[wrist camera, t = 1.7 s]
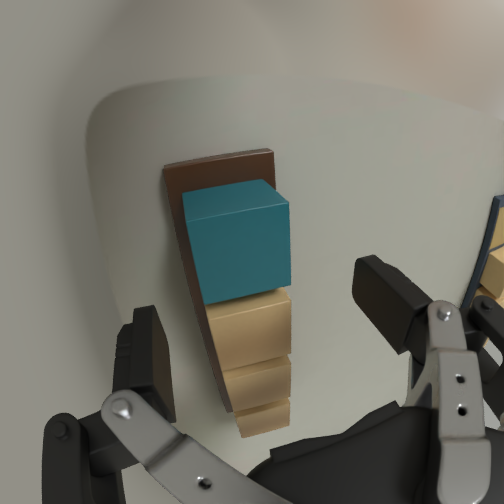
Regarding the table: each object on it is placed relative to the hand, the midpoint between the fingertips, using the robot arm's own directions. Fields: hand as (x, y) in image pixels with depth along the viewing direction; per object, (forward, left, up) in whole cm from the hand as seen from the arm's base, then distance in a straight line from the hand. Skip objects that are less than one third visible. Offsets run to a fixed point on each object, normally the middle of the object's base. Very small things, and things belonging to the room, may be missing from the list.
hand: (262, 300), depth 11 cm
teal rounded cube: (0, 0, -7) cm, 7 cm away
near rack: (+8, 0, -8) cm, 11 cm away
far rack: (+14, +33, -8) cm, 36 cm away
